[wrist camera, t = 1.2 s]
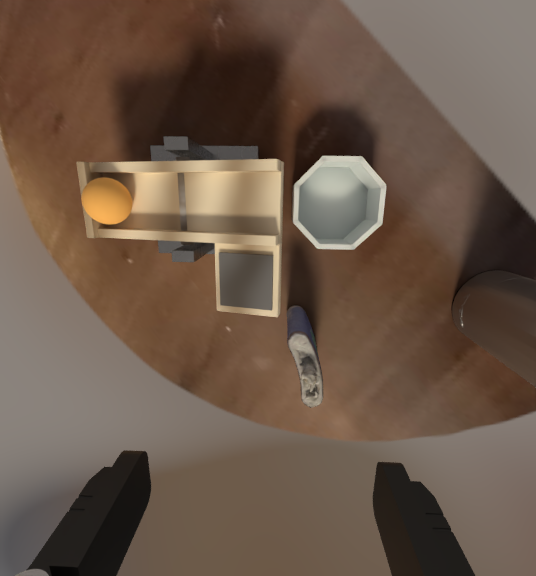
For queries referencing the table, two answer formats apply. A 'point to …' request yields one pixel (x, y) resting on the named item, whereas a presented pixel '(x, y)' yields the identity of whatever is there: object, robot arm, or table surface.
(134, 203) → the lever
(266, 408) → the table surface
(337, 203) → the cup
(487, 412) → the table surface
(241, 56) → the table surface
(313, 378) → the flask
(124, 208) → the ball
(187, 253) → the lever stand
